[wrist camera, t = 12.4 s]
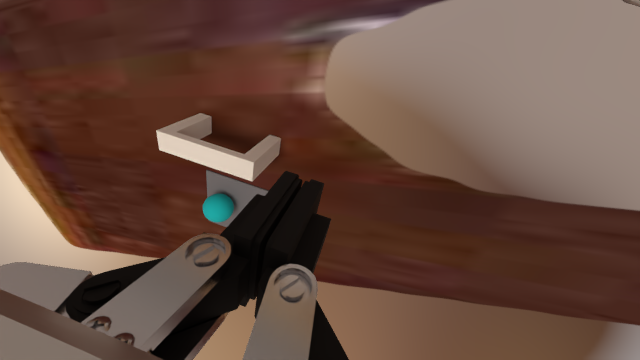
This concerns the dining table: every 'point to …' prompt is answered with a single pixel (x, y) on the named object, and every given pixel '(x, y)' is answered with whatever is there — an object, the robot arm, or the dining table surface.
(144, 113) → the dining table surface
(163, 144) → the bridge
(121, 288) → the robot arm
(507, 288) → the dining table surface
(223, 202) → the ball
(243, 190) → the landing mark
